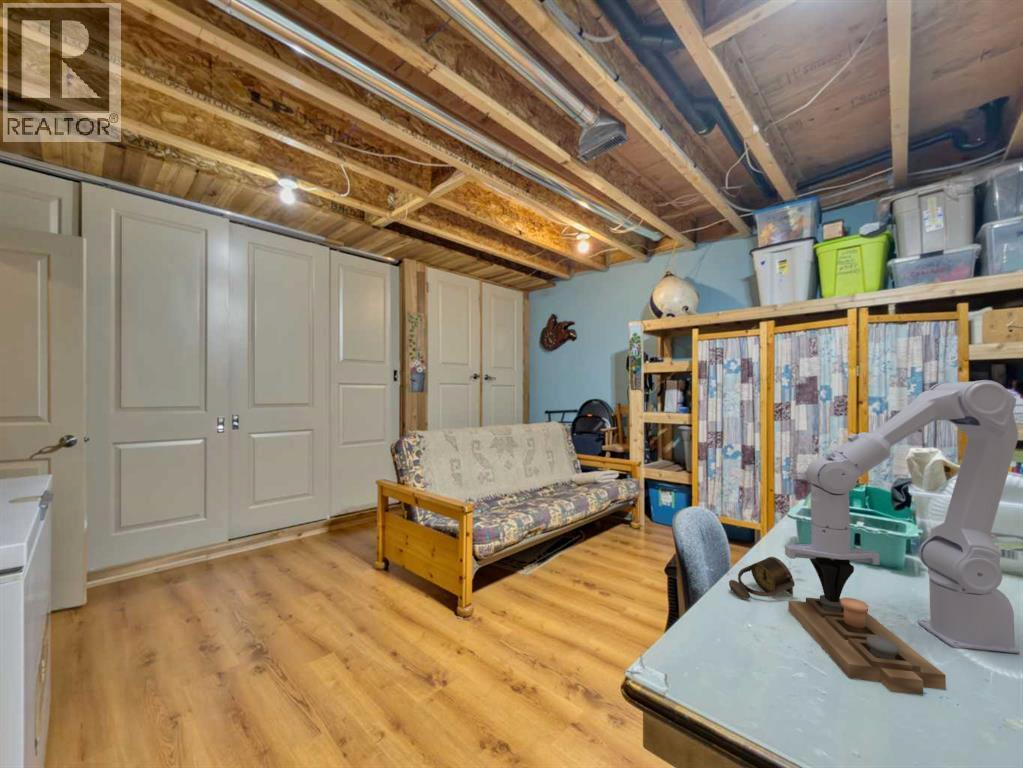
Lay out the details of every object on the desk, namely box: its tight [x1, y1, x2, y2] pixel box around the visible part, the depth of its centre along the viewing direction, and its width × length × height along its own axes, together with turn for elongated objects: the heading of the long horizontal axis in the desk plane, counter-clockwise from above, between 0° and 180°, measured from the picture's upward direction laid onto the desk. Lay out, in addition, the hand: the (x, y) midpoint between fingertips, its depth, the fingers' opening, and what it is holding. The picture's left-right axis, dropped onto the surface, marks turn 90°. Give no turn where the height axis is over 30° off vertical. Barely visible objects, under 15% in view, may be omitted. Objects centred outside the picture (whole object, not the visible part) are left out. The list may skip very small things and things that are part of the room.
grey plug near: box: [867, 636, 898, 660], centre depth 64 cm, size 4×4×3 cm
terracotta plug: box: [840, 597, 869, 628], centre depth 71 cm, size 4×4×3 cm
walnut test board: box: [787, 597, 947, 696], centre depth 71 cm, size 12×24×3 cm, turn 169°
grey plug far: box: [819, 594, 844, 612], centre depth 78 cm, size 4×4×3 cm
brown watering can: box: [728, 556, 796, 600], centre depth 89 cm, size 7×13×10 cm
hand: (831, 599), depth 78 cm, fingers closed, pressing on grey plug far
